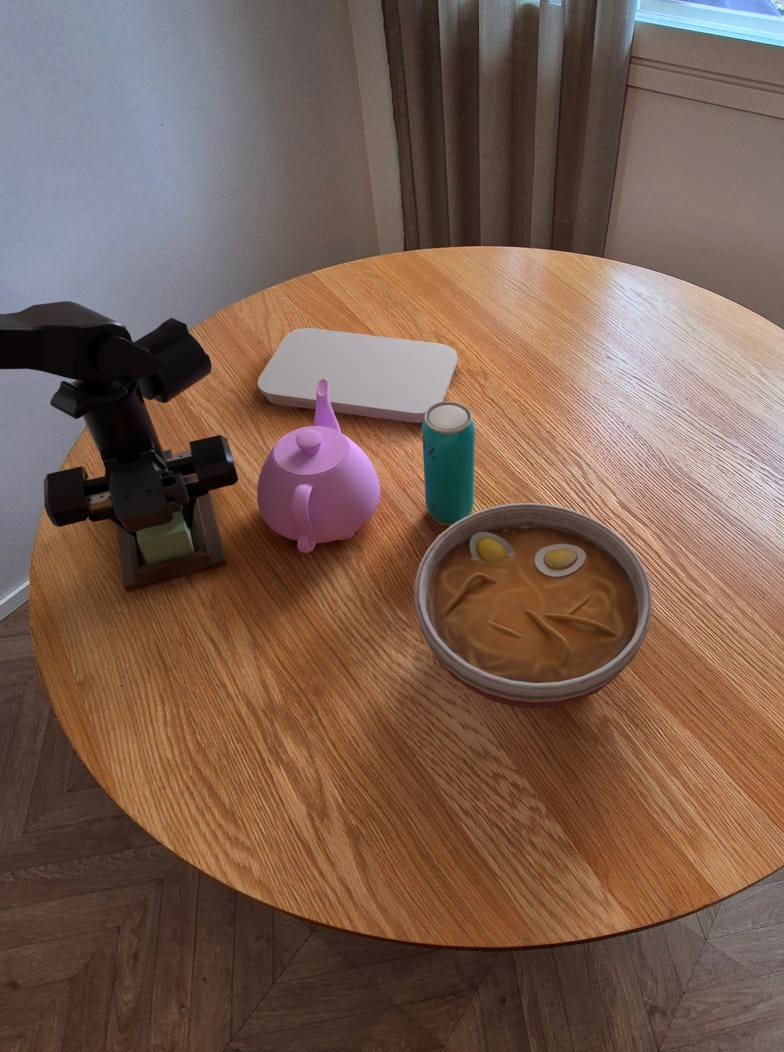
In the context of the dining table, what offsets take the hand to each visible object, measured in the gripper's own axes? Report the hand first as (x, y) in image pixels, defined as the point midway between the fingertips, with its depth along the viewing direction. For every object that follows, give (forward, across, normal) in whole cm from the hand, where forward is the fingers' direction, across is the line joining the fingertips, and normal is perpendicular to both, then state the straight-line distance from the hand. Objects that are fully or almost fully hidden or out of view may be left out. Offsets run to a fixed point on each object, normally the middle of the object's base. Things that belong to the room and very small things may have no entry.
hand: (165, 532), depth 89 cm
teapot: (+3, +18, 0) cm, 18 cm away
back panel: (+3, 0, +3) cm, 4 cm away
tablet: (+3, +29, +23) cm, 37 cm away
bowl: (+3, +33, -27) cm, 43 cm away
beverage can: (+3, +32, -6) cm, 33 cm away
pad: (+1, 0, 0) cm, 1 cm away
